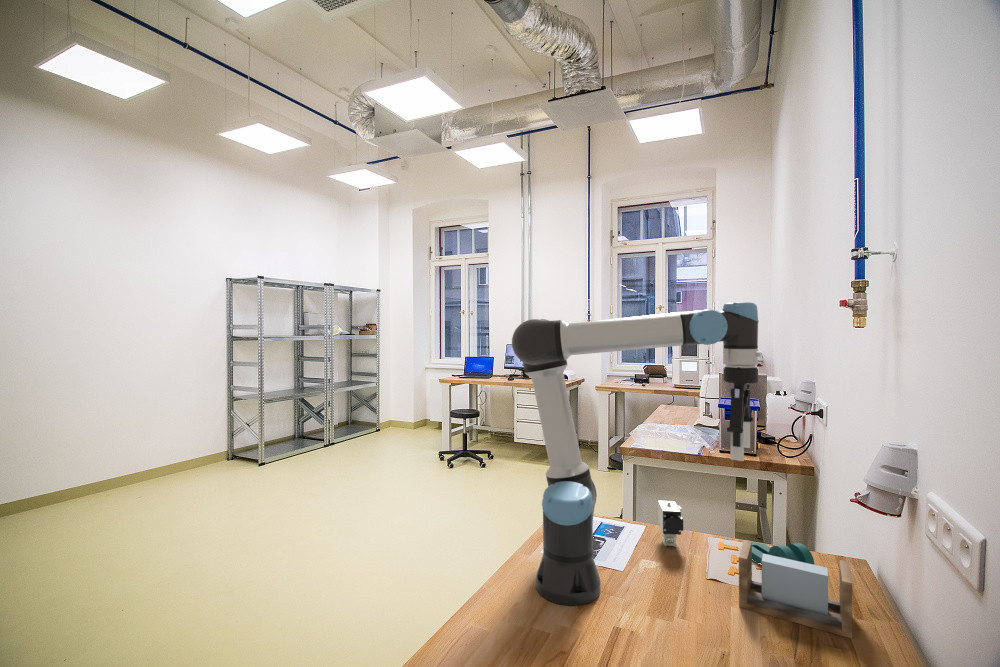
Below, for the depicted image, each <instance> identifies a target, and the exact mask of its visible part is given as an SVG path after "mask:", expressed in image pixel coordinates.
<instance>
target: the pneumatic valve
mask: <svg viewBox="0 0 1000 667" xmlns="http://www.w3.org/2000/svg"><path fill="white" fill-rule="evenodd" d="M657 521H658V524H659V526H660V529H661V533H662V538H661V541H662V544H663V546H664V547H667V546H668V547H677V545H678V544H677V535H678V536H679V535H682V532H684V519H683V517H682V507H681V505H677V503H676V501H675V500H667V499H657Z"/></svg>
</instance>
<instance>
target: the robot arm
mask: <svg viewBox="0 0 1000 667" xmlns="http://www.w3.org/2000/svg"><path fill="white" fill-rule="evenodd" d="M758 314H759V313H758V306H757V304H756V303H754V302H749V301H744V302H726V303H724V304H723V308H722V310H715V309H711V308H704V309H702V308H701V309H700V310H699V309H698V310H690V311H689V310H688V311H687V310H685V311H676V312H670V313H669V312H668V313H660V314H649V315H640V316H629V317H620V318H610V319H609V318H608V319H601V320H600V319H599V320H590V321H579V322H571V323H567V322H566V321H565V320H564V319H557V320H550V319H549V320H548V319H544V318H541V319H537V318H534V319H533V318H531V319H528V320H526V321H523V322H522V323H521V324H519V325H518V326H517V327H516V328H515V330H514V332H513V335H512V337H511V347H512V351H513V353H514V355H515V356H516V357H517V359H518V360H519V361H521V362H522V365H523V370H524V374H525V375H527V377H529V378H530V379H531V381H532V385H533V391H534V396H535V399H536V400H535V401H536V405H537V409H538V415H539V419H540V420H539V421H540V425H541V430H542V434H543V439H544V445H545V450H546V453H547V458H548V459H547V460H548V463H549V464H548V465H549V467H548V468H547V470H546V472H545V476H546V482H547V487H546V488H545V489H544V491H543V495H542V496H543V498H542V501H541V506H542V534H543V536H542V539H543V540H542V542H543V543H542V544H543V546H542V548H543V552H542V553H543V554H542V557H541V560H540V563H539V566H538V569H537V573H536V576H535V579H536V581H535V586H536V590H537V592H538V594H539V595H540V596H542V597H543V599H546V600H547V601H549V602H552V603H555V604H559V605H563V606H581V605H586V604H589V603H591V602H593V601H595V600H596V599H598V597H599V596H600V595H601V591H602V590H601V588H602V587H601V586H602V585H601V582H602V581H601V577H600V574H599V571H598V567H597V566H596V562H595V559H594V555H593V554H594V552H593V551H594V550H593V549H594V547H593V544H594V543H593V539H594V537H593V532H594V531H593V530H594V529H593V524H594V523H593V522H594V515H595V514H594V513H595V508H596V503H597V497H598V496H597V488H596V485H595V482H594V481H593V479H592V476H591V471H590V467H589V465H588V464H587V463H586V462H585V461H583V460H582V455H581V452H580V447H579V442H578V435H577V433H576V427H575V423H574V417H573V412H572V407H571V403H570V398H569V394H568V389H567V383H566V378H565V374H564V373H565V370H566V369H567V367H568V361H567V360H568V359H569V358H570V357H571V356H576V355H577V356H578V355H589V354H599V353H612V352H620V351H622V352H623V351H633V350H644V349H645V350H646V349H657V348H668V347H678V346H679V347H680V346H695V345H696V346H697V345H715V344H716V343H720V342H722V343H723V345H722V346H723V347H722V348H723V349H722V363H723V365H724V367H723V371H722V372H723V382H725V383H729V384H733V388H731V390H730V410H729V411H730V412H729V413H730V414H729V427H726V432H729V434H730V435H729V436H730V438H729V439H730V440H729V441H730V446H729V447H730V455H729V456H730V457H729V458H730V460H732V461H739V462H744V461H745V448H746V449H751V422H752V423H753V422H754V417H752V414H751V389H750V387H751V386H750V384H757V383H758V382H759V368H758V367H757V366H758V363H759V358H758V357H762V354H761V352H758V351H759V349H758V348H759V347H758V346H759V344H758V340H759V315H758Z"/></svg>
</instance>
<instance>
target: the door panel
mask: <svg viewBox="0 0 1000 667" xmlns="http://www.w3.org/2000/svg"><path fill="white" fill-rule="evenodd" d="M761 583H762V598H765V599H769V600H772V601H776V602H780V603H783V604H787V605H791V606H795V607H798V608H802V609H806V610H810V611H813V612H817V613H821V614H825V615H828V600H829V575H828V567H825V566H821V565H818V564H817V565H816V564H814V565H813V564H808V563H804V562H799V561H795V560H790V559H786V558H781V557H777V556H772V555H768V554H763V556H762V566H761Z"/></svg>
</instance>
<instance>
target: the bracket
mask: <svg viewBox="0 0 1000 667" xmlns="http://www.w3.org/2000/svg"><path fill="white" fill-rule="evenodd" d="M763 554H768V555H772V556H777V557H781V558H786V559H790V560H795V561H799V562H804V563H808V564H813V565H815V559H814V556H813V553H812V552H811V551H810V549H809V548H808V547H807V546H806V545H804V544H803V543H800V542H798V543H797V542H795V543H789V544H787V545H785V544H779V545H771V547H770V546H769V545H767V544H764V543H762V542H757V541H752V559H753V560H754V561H756V562H757V563H761V564H762V556H763ZM753 560H752V561H753ZM754 561H753V562H754ZM756 562H755V563H756ZM757 563H756V564H757Z"/></svg>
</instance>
